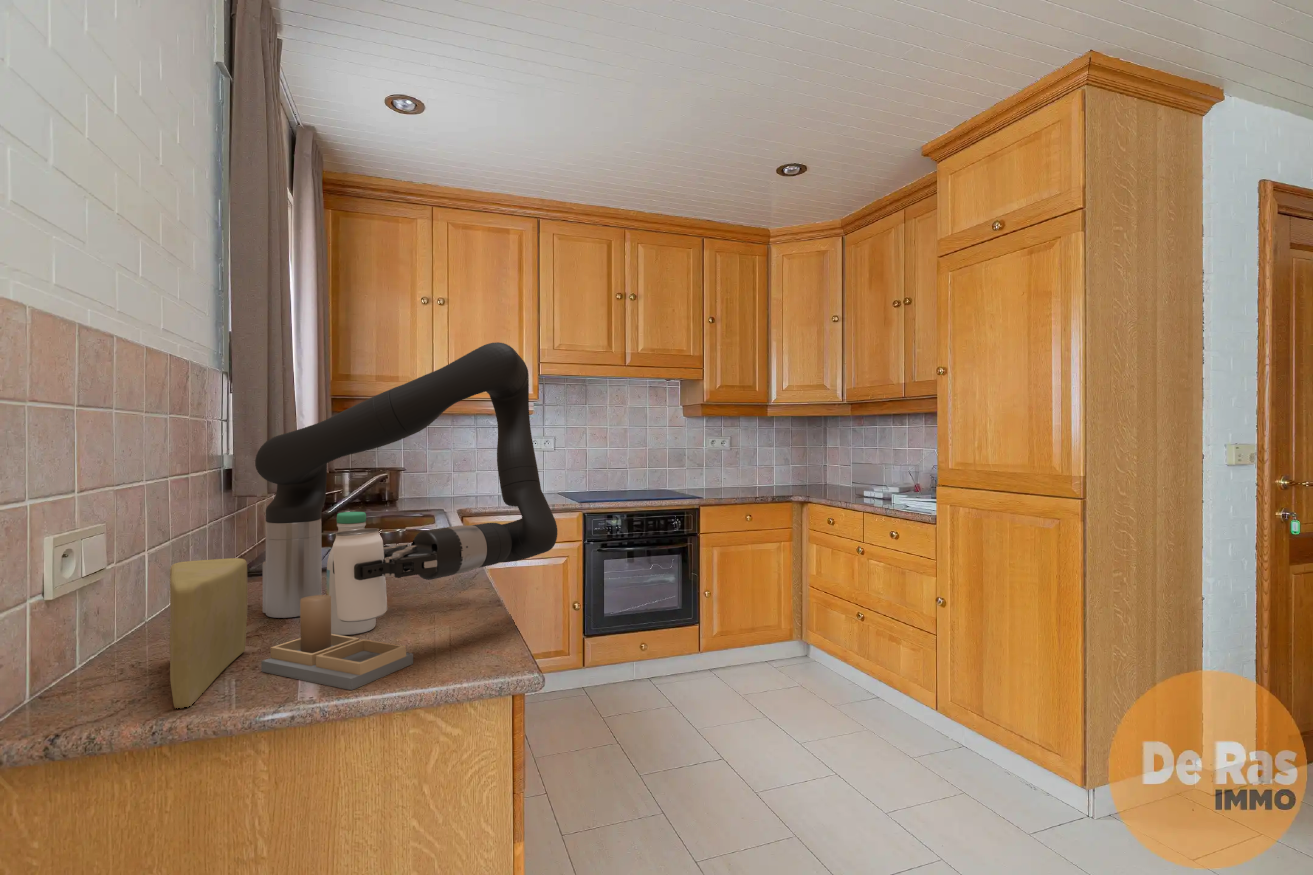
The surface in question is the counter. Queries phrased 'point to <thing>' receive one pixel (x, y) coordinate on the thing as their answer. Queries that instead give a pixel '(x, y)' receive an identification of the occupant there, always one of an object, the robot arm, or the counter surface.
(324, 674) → the socket board
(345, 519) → the milk bottle
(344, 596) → the can
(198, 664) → the cheese
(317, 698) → the counter surface
